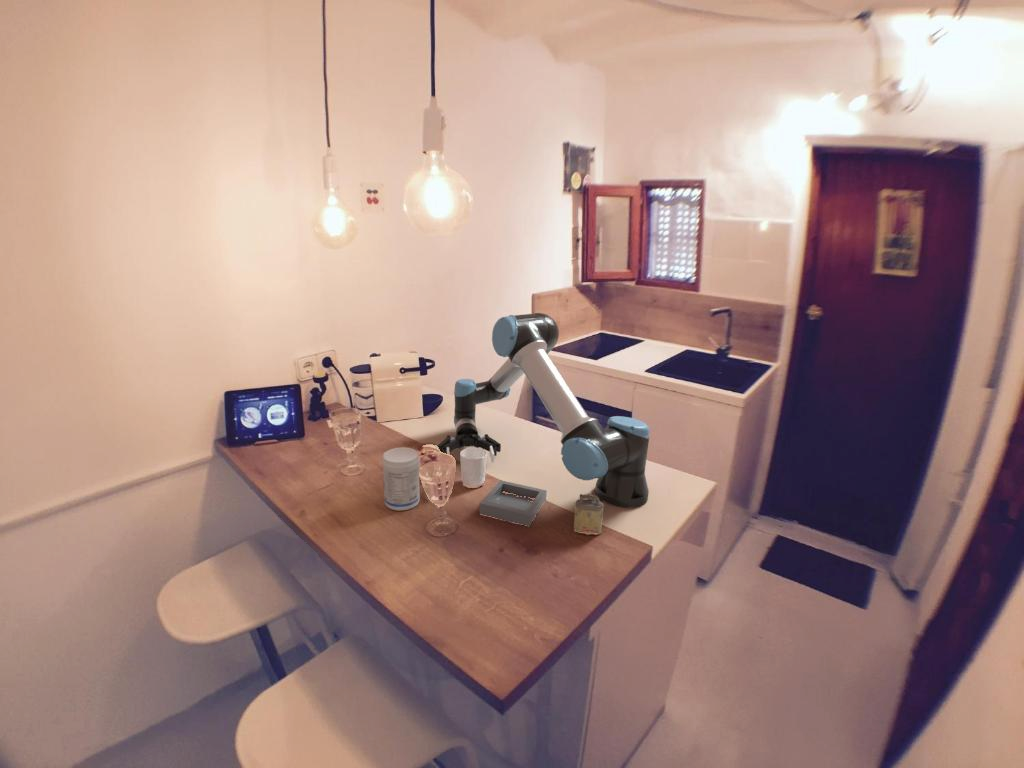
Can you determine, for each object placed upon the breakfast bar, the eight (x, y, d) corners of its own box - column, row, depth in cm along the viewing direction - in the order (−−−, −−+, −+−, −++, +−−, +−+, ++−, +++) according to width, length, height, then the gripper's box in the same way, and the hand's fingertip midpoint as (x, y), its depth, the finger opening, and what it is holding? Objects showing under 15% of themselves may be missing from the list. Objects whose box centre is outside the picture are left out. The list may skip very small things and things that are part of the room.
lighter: (600, 528, 127) (604, 493, 124) (602, 537, 124) (605, 501, 121) (573, 526, 128) (575, 491, 125) (573, 534, 124) (576, 499, 121)
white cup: (482, 491, 143) (483, 460, 140) (456, 488, 145) (456, 457, 142) (489, 479, 151) (489, 449, 148) (464, 476, 152) (464, 446, 149)
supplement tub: (387, 494, 140) (385, 446, 136) (421, 493, 141) (420, 446, 137) (382, 512, 131) (379, 462, 127) (418, 511, 132) (417, 461, 128)
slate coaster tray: (545, 503, 139) (546, 490, 138) (529, 528, 127) (529, 515, 125) (499, 492, 144) (500, 480, 143) (479, 516, 131) (479, 503, 130)
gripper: (502, 441, 173) (511, 468, 153) (430, 443, 170) (429, 472, 149) (502, 421, 171) (511, 446, 151) (429, 423, 167) (429, 449, 147)
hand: (470, 459), depth 150 cm, fingers open, 13 cm apart
